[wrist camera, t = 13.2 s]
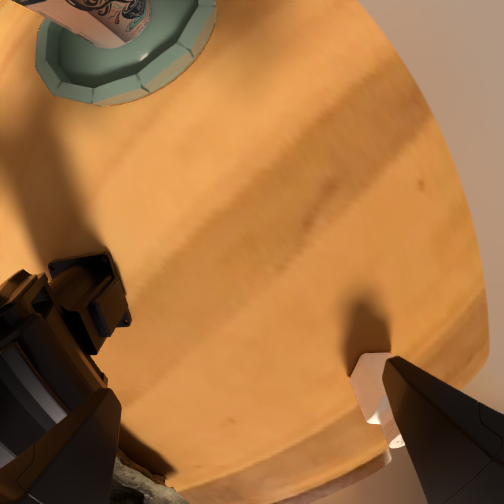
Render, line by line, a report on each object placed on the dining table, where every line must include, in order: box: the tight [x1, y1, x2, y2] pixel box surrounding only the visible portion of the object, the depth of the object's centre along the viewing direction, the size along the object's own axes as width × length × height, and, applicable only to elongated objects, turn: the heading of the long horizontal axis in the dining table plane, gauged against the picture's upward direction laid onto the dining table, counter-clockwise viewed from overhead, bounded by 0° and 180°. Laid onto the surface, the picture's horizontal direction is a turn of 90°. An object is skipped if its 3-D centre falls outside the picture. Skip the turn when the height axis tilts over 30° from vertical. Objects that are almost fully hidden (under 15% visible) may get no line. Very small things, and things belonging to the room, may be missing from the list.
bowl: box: [35, 0, 217, 107], centre depth 12 cm, size 13×13×3 cm
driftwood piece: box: [109, 448, 190, 504], centre depth 25 cm, size 28×13×15 cm
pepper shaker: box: [350, 353, 405, 448], centre depth 21 cm, size 4×4×10 cm
